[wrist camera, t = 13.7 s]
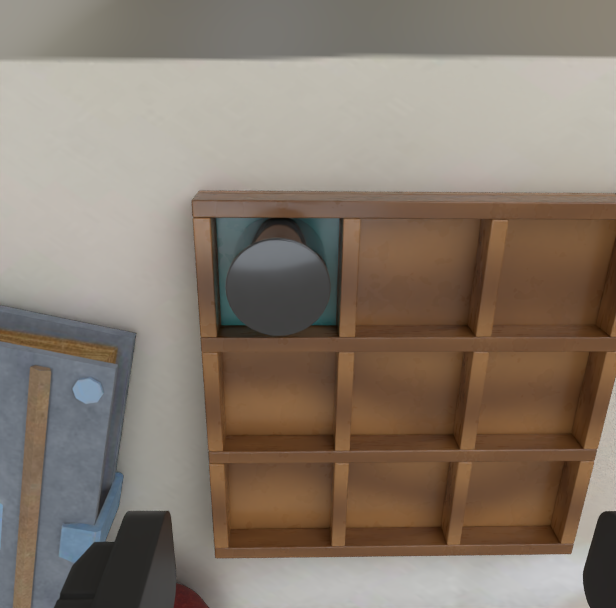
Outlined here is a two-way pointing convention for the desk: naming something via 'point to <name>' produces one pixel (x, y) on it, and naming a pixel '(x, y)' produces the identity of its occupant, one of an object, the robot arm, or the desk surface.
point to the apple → (187, 598)
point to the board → (412, 375)
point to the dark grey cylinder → (278, 277)
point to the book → (56, 447)
